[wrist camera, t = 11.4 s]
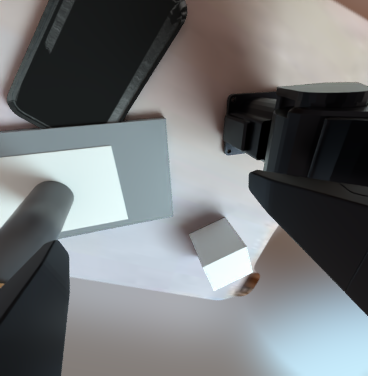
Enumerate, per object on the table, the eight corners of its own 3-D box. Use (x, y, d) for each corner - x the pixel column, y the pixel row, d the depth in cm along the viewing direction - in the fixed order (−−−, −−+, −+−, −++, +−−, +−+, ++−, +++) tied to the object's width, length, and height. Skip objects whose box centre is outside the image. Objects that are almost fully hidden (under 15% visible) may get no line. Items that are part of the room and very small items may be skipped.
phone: (192, 8, 15) (98, 159, 19) (188, 13, 16) (99, 155, 20) (95, -113, 11) (0, 106, 15) (97, -98, 12) (7, 104, 16)
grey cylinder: (55, 172, 18) (-50, 315, 7) (83, 200, 20) (34, 344, 9) (20, 192, 18) (-138, 364, 7) (52, 218, 20) (-34, 381, 9)
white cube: (224, 216, 28) (246, 246, 23) (232, 241, 32) (252, 272, 27) (188, 233, 28) (202, 267, 23) (199, 257, 31) (214, 291, 26)
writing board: (164, 117, 19) (165, 119, 18) (171, 212, 25) (173, 216, 24) (-65, 136, 15) (-74, 139, 14) (10, 243, 21) (6, 249, 20)
